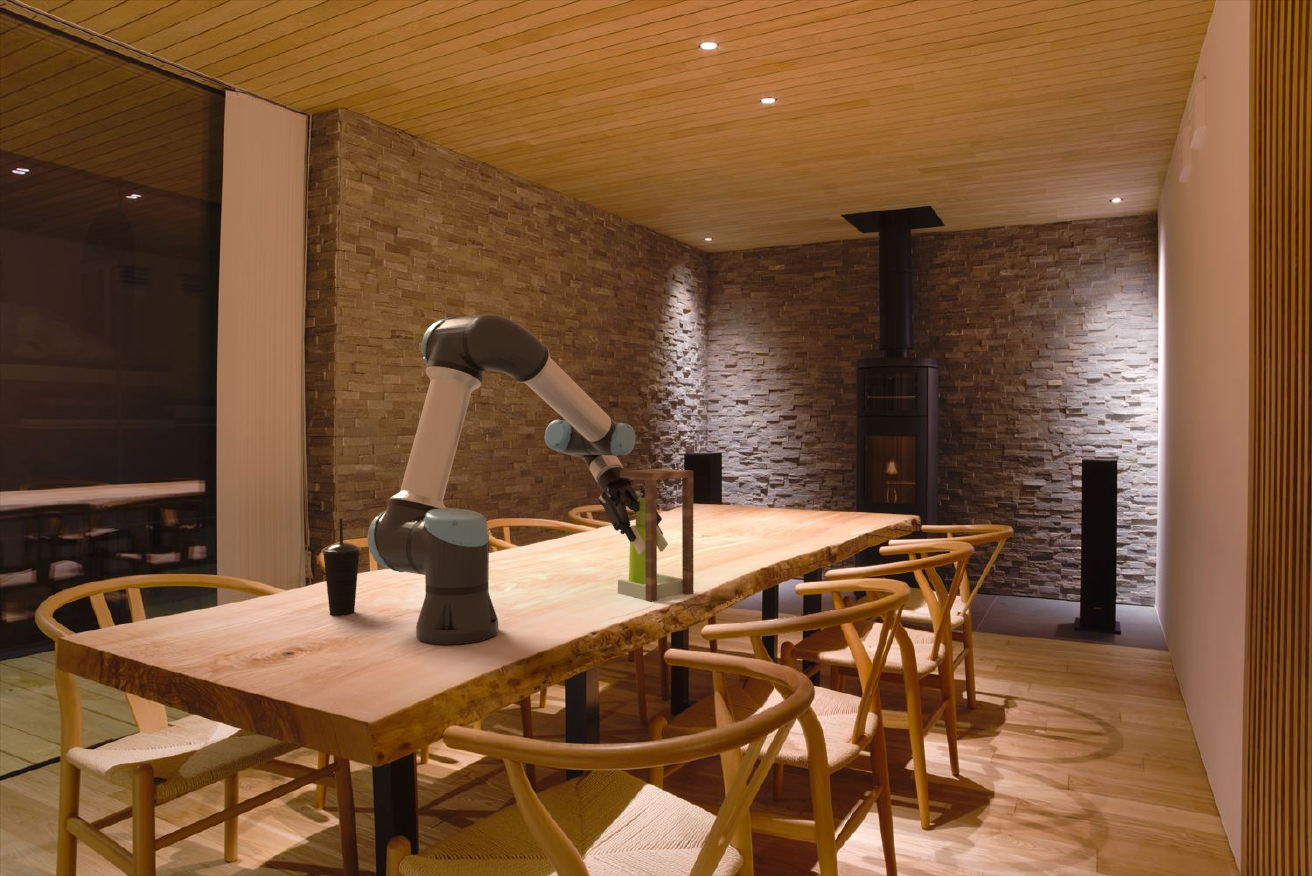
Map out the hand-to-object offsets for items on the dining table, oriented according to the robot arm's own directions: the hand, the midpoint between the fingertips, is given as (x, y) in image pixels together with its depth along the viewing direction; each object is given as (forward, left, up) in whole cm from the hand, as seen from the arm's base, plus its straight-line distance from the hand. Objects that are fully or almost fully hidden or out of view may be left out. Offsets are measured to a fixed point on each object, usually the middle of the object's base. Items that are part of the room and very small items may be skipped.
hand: (653, 549), depth 197 cm
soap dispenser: (0, +4, -8) cm, 9 cm away
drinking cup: (-62, +28, -10) cm, 69 cm away
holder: (0, 0, -10) cm, 10 cm away
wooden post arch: (0, -2, -10) cm, 10 cm away
